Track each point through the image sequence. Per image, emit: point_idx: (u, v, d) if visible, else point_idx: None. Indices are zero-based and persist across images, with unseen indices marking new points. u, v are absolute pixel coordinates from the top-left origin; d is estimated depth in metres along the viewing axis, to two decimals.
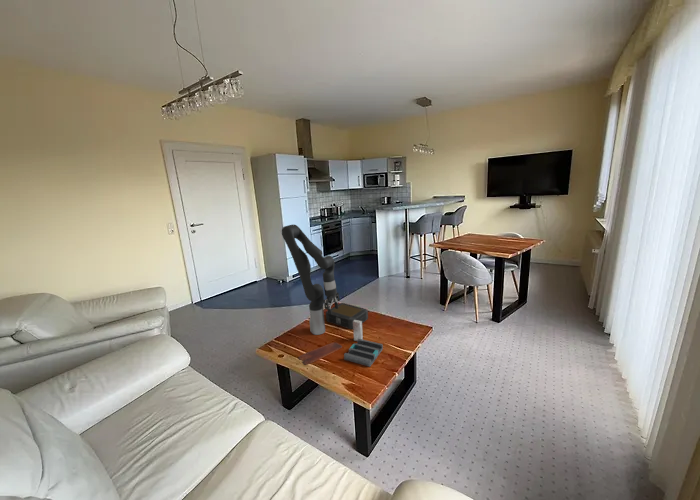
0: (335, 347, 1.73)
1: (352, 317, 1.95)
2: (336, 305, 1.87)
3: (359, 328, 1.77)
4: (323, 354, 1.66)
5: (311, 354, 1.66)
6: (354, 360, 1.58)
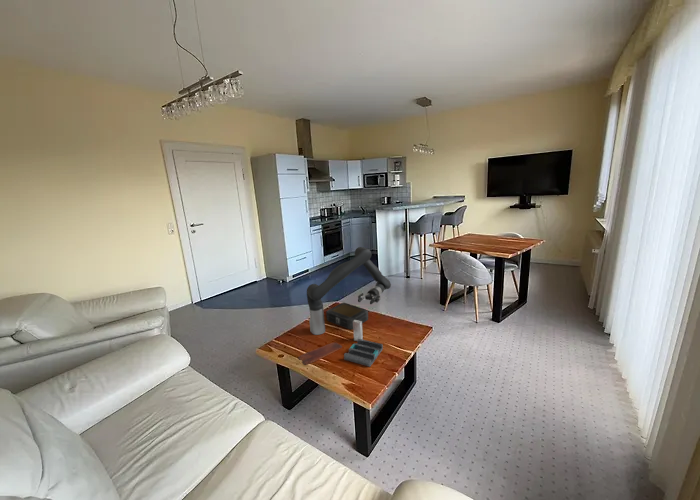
0: (335, 347, 1.73)
1: (351, 317, 1.95)
2: (360, 300, 1.89)
3: (359, 328, 1.77)
4: (323, 354, 1.66)
5: (311, 354, 1.66)
6: (354, 360, 1.58)
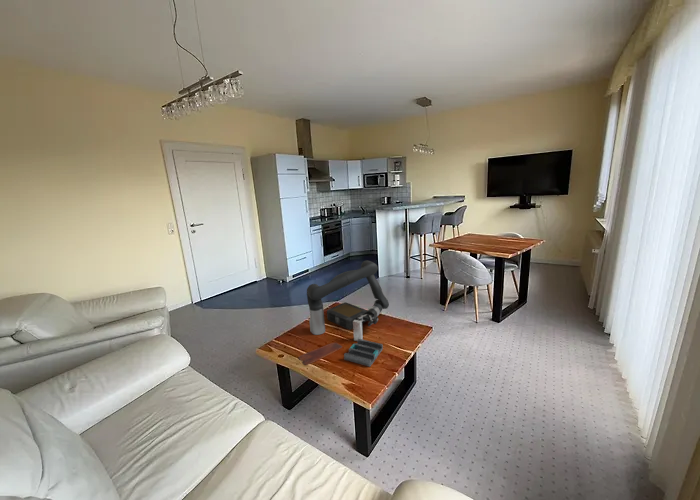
0: (335, 347, 1.73)
1: (350, 317, 1.95)
2: None
3: (359, 328, 1.77)
4: (323, 354, 1.66)
5: (311, 354, 1.66)
6: (354, 360, 1.58)
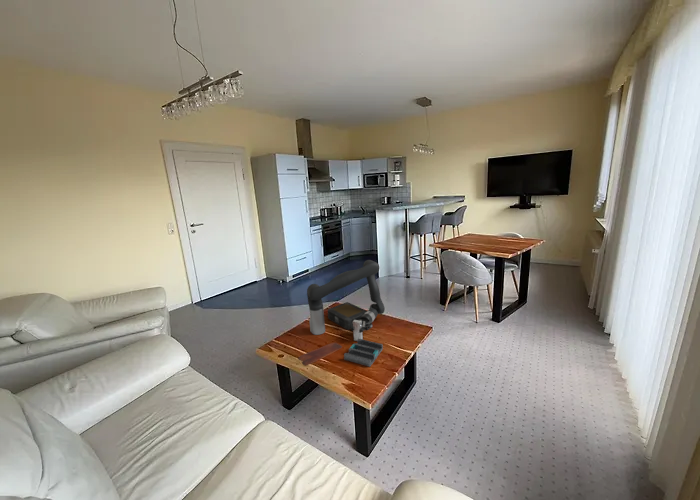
0: (335, 347, 1.73)
1: (348, 317, 1.95)
2: None
3: (359, 328, 1.77)
4: (323, 354, 1.66)
5: (311, 355, 1.66)
6: (354, 360, 1.58)
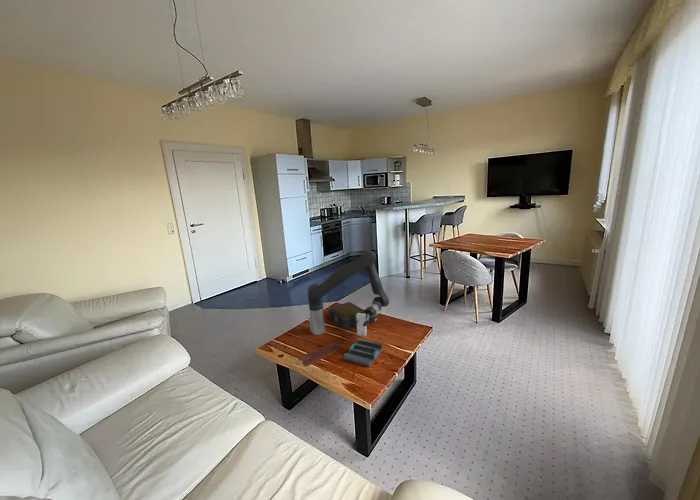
0: (335, 347, 1.73)
1: (347, 318, 1.95)
2: None
3: (363, 321, 1.64)
4: (323, 355, 1.66)
5: (311, 355, 1.66)
6: (354, 360, 1.58)
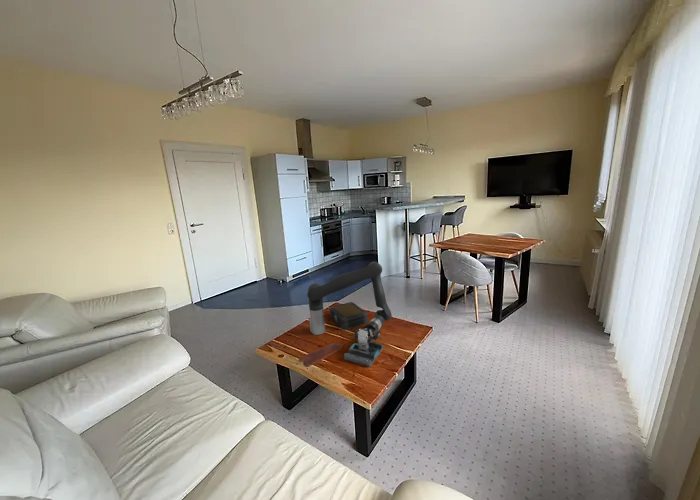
0: (335, 348, 1.73)
1: (345, 318, 1.95)
2: (357, 336, 1.65)
3: (365, 339, 1.61)
4: (324, 355, 1.66)
5: (312, 356, 1.65)
6: (354, 360, 1.58)
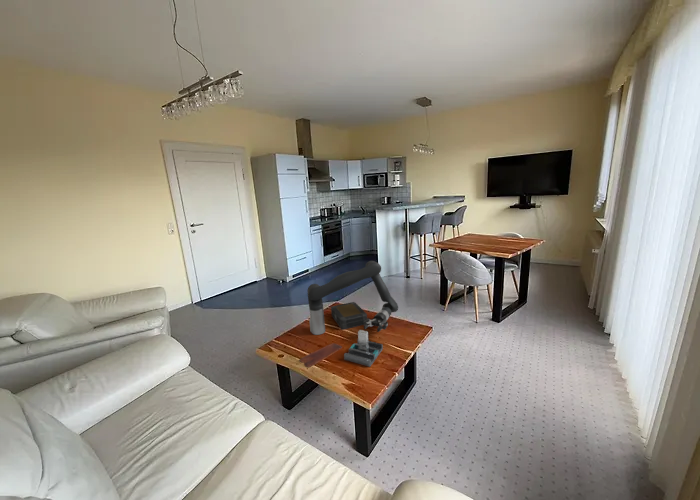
0: (335, 348, 1.72)
1: (344, 317, 1.95)
2: (366, 326, 1.76)
3: (365, 339, 1.61)
4: (324, 355, 1.65)
5: (312, 356, 1.64)
6: (354, 360, 1.58)
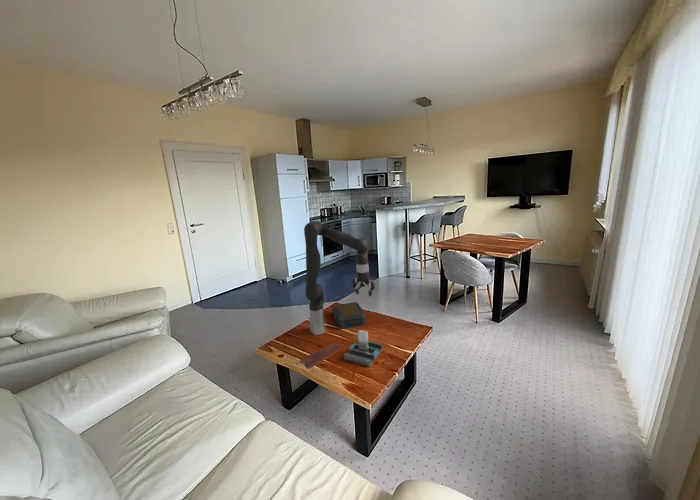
0: (335, 348, 1.72)
1: (342, 317, 1.96)
2: (358, 290, 1.81)
3: (365, 339, 1.61)
4: (325, 356, 1.65)
5: (313, 357, 1.64)
6: (354, 360, 1.58)
